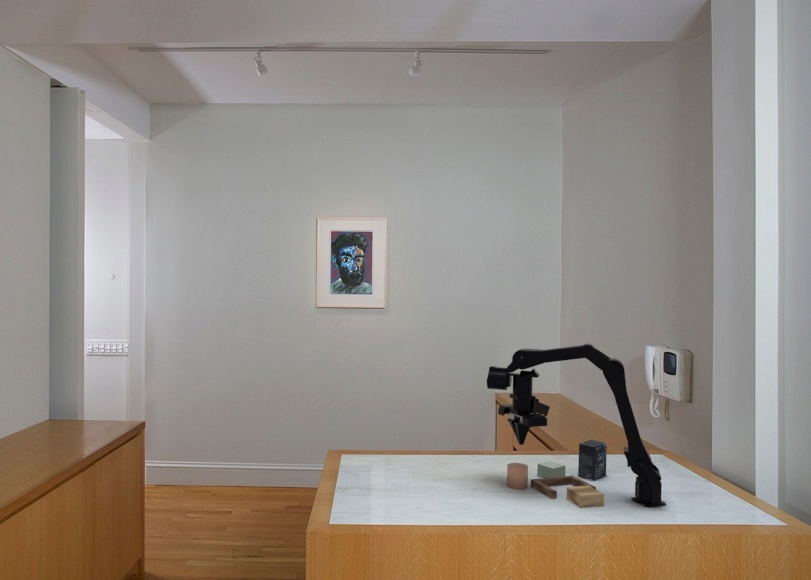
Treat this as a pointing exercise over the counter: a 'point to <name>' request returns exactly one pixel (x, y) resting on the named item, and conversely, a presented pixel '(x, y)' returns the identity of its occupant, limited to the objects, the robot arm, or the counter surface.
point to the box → (592, 459)
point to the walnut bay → (544, 484)
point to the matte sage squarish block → (550, 469)
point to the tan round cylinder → (517, 476)
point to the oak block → (585, 496)
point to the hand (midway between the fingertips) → (521, 444)
